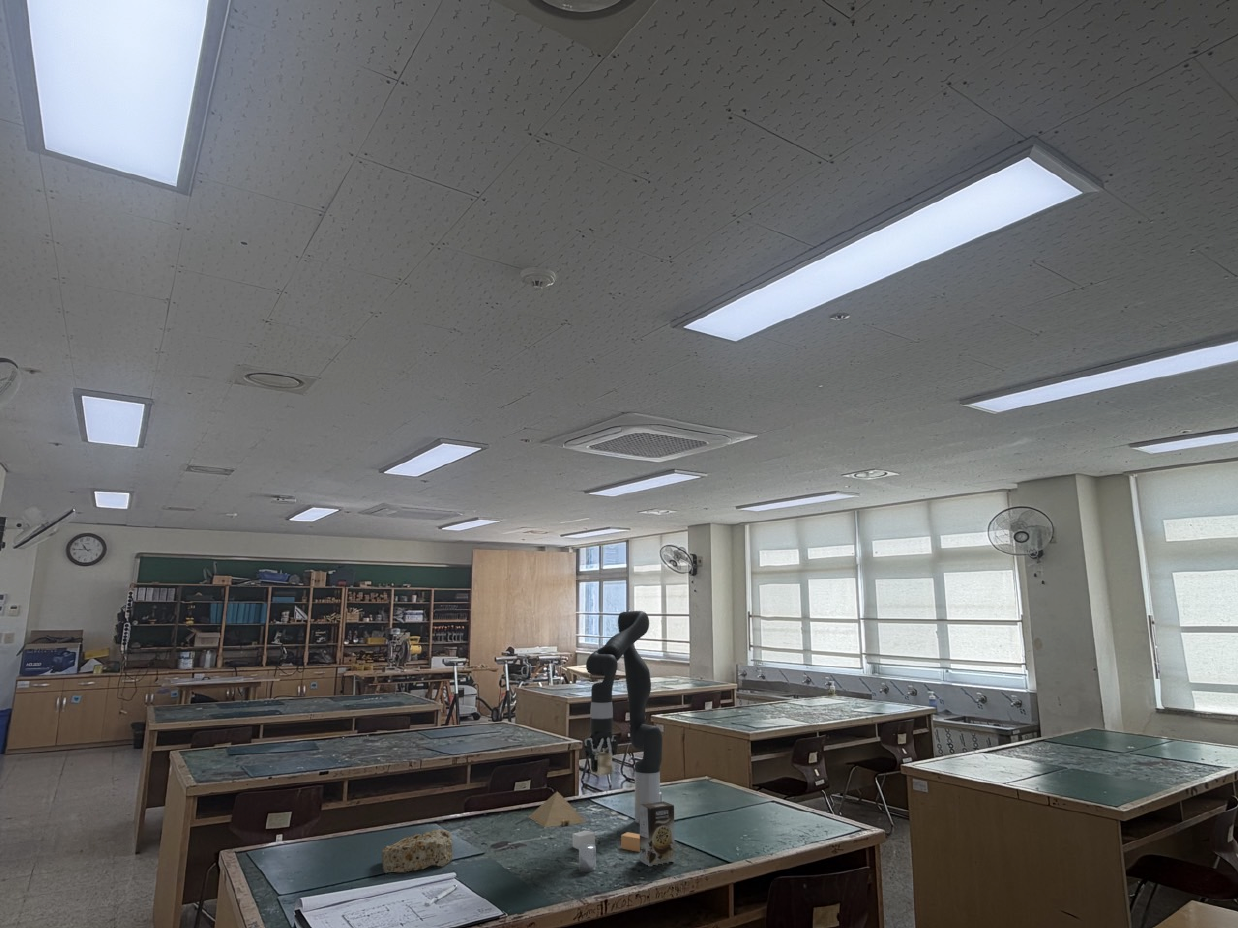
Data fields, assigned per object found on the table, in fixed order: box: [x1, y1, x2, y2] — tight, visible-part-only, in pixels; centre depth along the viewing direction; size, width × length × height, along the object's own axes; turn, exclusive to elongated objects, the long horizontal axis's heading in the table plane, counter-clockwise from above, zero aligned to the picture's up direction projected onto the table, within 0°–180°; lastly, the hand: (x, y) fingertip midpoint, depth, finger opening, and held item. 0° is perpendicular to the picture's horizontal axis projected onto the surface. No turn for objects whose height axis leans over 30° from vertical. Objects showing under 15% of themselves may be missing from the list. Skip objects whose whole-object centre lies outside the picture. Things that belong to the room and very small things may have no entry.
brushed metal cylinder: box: [578, 844, 597, 873], centre depth 207 cm, size 5×5×6 cm
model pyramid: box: [528, 791, 587, 828], centre depth 258 cm, size 17×17×10 cm
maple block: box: [590, 751, 613, 777], centre depth 230 cm, size 5×5×6 cm
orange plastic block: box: [620, 831, 640, 853], centre depth 225 cm, size 4×7×4 cm, turn 59°
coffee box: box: [639, 800, 675, 867], centre depth 214 cm, size 9×6×16 cm
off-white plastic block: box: [572, 830, 596, 850], centre depth 227 cm, size 6×4×4 cm, turn 128°
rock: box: [381, 828, 453, 873], centre depth 210 cm, size 21×14×10 cm
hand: (601, 770), depth 230 cm, fingers closed on maple block, 5 cm apart
